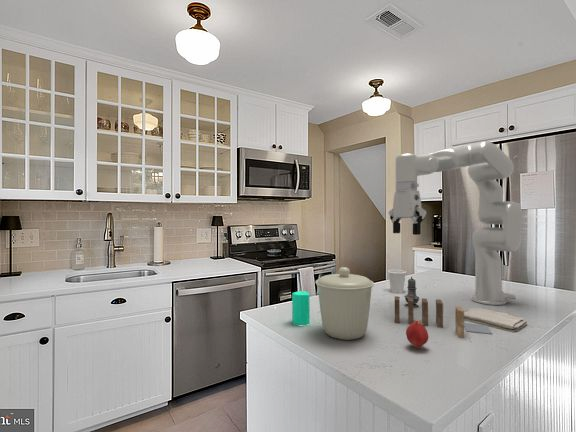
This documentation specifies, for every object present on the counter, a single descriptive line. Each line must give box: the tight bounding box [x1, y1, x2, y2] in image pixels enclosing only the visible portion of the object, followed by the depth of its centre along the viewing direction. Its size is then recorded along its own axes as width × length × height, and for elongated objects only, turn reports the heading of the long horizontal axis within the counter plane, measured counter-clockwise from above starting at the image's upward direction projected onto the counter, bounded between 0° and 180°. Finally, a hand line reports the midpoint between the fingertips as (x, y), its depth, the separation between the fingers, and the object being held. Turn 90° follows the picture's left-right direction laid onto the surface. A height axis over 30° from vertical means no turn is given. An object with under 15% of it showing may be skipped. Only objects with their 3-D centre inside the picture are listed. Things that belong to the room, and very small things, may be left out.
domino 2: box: [407, 297, 415, 325], centre depth 109 cm, size 2×5×8 cm, turn 160°
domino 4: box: [435, 299, 444, 329], centre depth 106 cm, size 2×5×8 cm, turn 160°
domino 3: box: [421, 297, 429, 327], centre depth 108 cm, size 2×5×8 cm, turn 160°
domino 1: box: [394, 295, 401, 324], centre depth 111 cm, size 2×5×8 cm, turn 160°
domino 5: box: [454, 305, 465, 338], centre depth 98 cm, size 2×5×8 cm, turn 160°
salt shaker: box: [403, 276, 420, 309], centre depth 129 cm, size 6×6×12 cm
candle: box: [291, 290, 311, 326], centre depth 109 cm, size 6×6×12 cm
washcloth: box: [464, 307, 528, 333], centre depth 109 cm, size 12×18×3 cm, turn 38°
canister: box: [315, 266, 375, 341], centre depth 99 cm, size 18×18×21 cm
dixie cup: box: [387, 269, 407, 294], centre depth 152 cm, size 8×8×10 cm
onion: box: [405, 319, 430, 349], centre depth 88 cm, size 6×6×8 cm
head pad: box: [464, 322, 493, 335], centre depth 102 cm, size 7×8×1 cm
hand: (406, 233), depth 116 cm, fingers open, 9 cm apart
